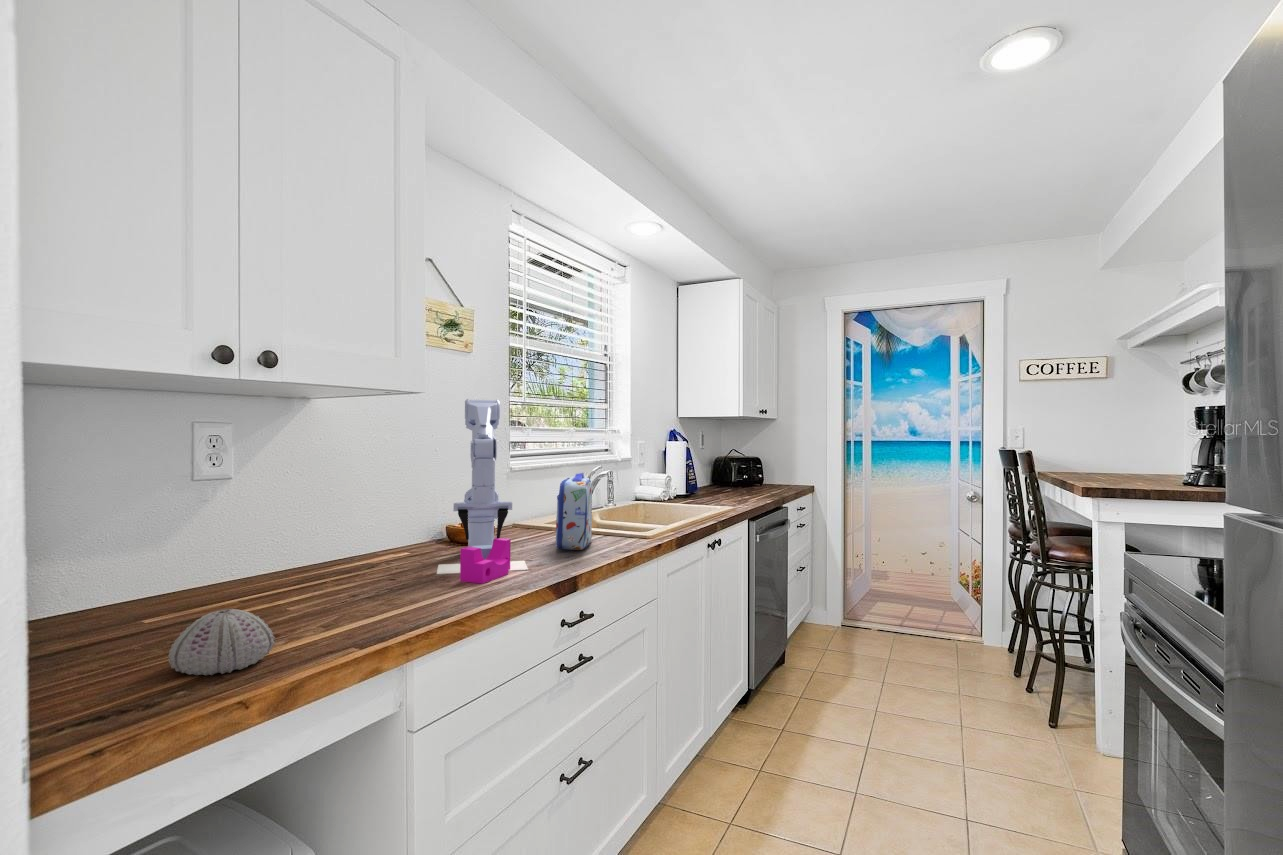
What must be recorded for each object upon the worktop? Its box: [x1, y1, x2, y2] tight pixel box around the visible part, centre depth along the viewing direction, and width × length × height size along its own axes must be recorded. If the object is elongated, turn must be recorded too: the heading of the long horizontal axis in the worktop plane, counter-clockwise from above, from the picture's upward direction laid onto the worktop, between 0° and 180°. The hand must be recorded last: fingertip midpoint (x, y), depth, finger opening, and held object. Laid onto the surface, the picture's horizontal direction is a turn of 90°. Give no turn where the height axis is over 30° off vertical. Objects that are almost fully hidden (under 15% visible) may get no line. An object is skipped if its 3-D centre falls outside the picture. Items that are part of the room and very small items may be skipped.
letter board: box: [436, 560, 529, 575], centre depth 163 cm, size 11×22×1 cm, turn 105°
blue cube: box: [473, 545, 492, 560], centre depth 163 cm, size 5×5×5 cm
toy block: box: [459, 537, 512, 585], centre depth 154 cm, size 15×6×8 cm, turn 158°
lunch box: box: [555, 472, 593, 551], centre depth 195 cm, size 28×10×22 cm, turn 3°
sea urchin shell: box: [167, 608, 276, 676], centre depth 96 cm, size 13×14×8 cm
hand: (482, 538), depth 163 cm, fingers open, 7 cm apart
